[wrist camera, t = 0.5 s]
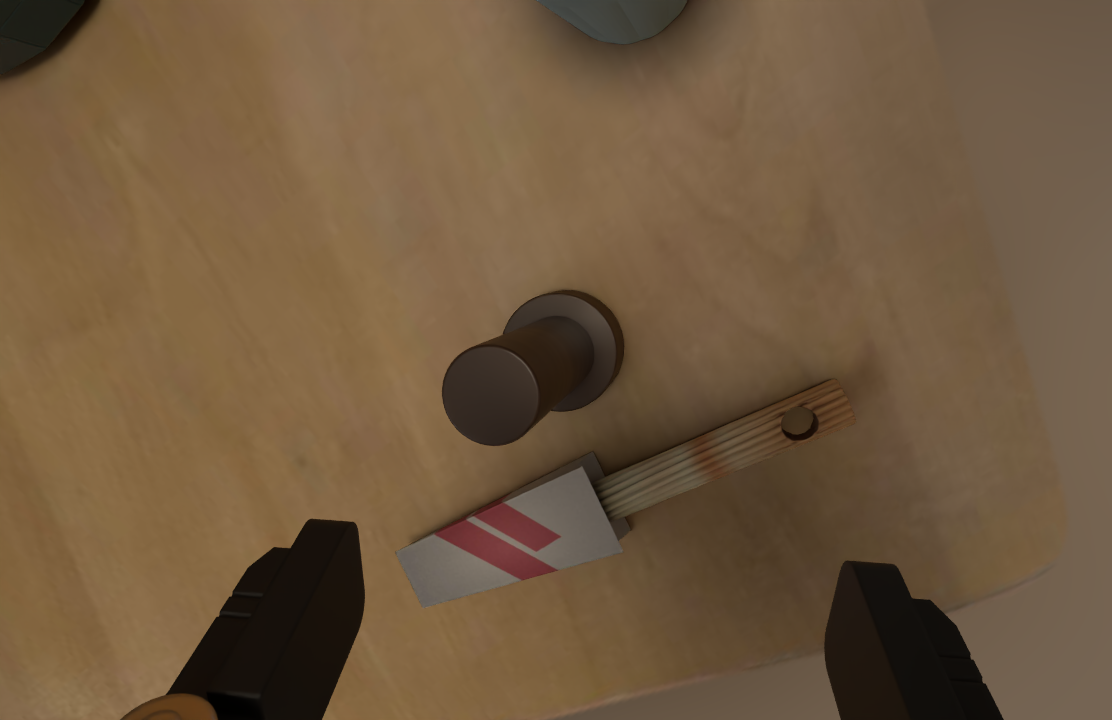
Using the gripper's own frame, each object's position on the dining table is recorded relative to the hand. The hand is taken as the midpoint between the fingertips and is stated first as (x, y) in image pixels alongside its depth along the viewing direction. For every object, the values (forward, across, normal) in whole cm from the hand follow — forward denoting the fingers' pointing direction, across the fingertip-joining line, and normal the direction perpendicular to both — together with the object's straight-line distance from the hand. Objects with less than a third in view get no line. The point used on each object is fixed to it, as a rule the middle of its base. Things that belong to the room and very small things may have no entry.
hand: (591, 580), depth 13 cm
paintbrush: (+18, -1, +11) cm, 21 cm away
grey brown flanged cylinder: (+20, +2, +5) cm, 21 cm away
